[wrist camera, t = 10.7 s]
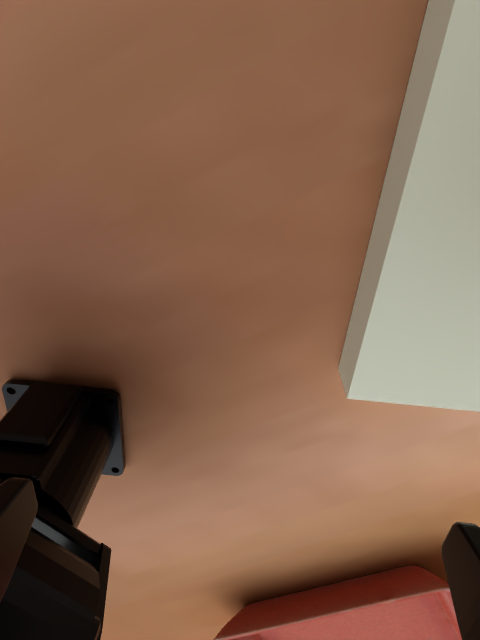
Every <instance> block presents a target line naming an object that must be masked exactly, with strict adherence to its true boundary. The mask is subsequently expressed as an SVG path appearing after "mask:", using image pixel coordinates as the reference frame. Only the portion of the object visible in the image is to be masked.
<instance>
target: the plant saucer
mask: <svg viewBox="0 0 480 640" xmlns="http://www.w3.org/2000/svg"><path fill="white" fill-rule="evenodd" d="M214 640H462V638H461V634H460V630H459V626H458V622H457V618H456V614H455V610H454V605H453V601H452V597H451V593H450V589H449V584H448V583H446V582H445V581H444V580H442V579H441V578H439V577H438V576H436V575H435V574H433V573H431V572H429V571H427V570H425V569H424V568H421V567H419V566H416V565H409V566H404V567H400V568H396V569H392V570H388V571H384V572H380V573H376V574H372V575H368V576H364V577H360V578H355V579H351V580H347V581H343V582H339V583H335V584H330V585H326V586H322V587H318V588H314V589H310V590H306V591H302V592H298V593H294V594H289V595H285V596H281V597H277V598H272V599H268V600H264V601H260V602H256V603H252V604H248V605H247V606H245V607H244V608H243V609H242V610H241V611H240V612H239V613H237V614H236V615H235V616H234V617H233V618H232V619H231V620H230V621H229V622H228V623H227V624H226V625H225V626H224V627H223V628H222V630H221V631H220V632H219V633H218V635H217V636H216V637H215V639H214Z"/></svg>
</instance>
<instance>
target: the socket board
mask: <svg viewBox="0 0 480 640" xmlns="http://www.w3.org/2000/svg"><path fill="white" fill-rule="evenodd" d="M338 370H339V373H340V376H341V380H342V383H343V386H344V390H345V393H346V396H347V399H357V400H367V401H377V402H387V403H397V404H407V405H417V406H427V407H437V408H447V409H457V410H467V411H477V412H480V0H429V1H428V5H427V9H426V13H425V17H424V21H423V25H422V29H421V33H420V38H419V42H418V46H417V50H416V54H415V58H414V62H413V66H412V70H411V74H410V78H409V82H408V86H407V90H406V94H405V99H404V103H403V107H402V111H401V115H400V119H399V123H398V127H397V131H396V135H395V139H394V143H393V147H392V151H391V155H390V160H389V164H388V168H387V172H386V176H385V180H384V184H383V188H382V192H381V196H380V200H379V204H378V208H377V212H376V216H375V221H374V225H373V229H372V233H371V237H370V241H369V245H368V249H367V253H366V257H365V261H364V265H363V269H362V273H361V277H360V282H359V286H358V290H357V294H356V298H355V302H354V306H353V310H352V314H351V318H350V322H349V326H348V330H347V334H346V338H345V343H344V347H343V351H342V355H341V359H340V363H339V367H338Z"/></svg>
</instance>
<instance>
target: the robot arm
mask: <svg viewBox="0 0 480 640" xmlns="http://www.w3.org/2000/svg"><path fill="white" fill-rule="evenodd" d="M12 388H13V389H12ZM14 389H15V390H14ZM2 391H3V395H4V399H5V403H6V407H7V411H8V412H7V413H6V414H5V416H4V417H3V418H2V419H1V420H0V640H100V638H101V633H102V627H103V618H104V609H105V600H106V591H107V583H108V574H109V565H110V556H111V548H109V547H108V546H106V545H105V544H103V543H101V544H100V543H98V542H97V541H95V540H94V539H92V538H91V537H89V536H88V535H86V534H85V533H83V532H82V531H80V530H79V529H77V527H78V525H79V523H80V521H81V518H82V516H83V514H84V512H85V509H86V507H87V505H88V503H89V500H90V498H91V496H92V494H93V491H94V489H95V487H96V485H97V482H98V480H99V478H100V476H101V474H104V475H114V476H119V475H121V474H122V473H123V471H124V469H125V455H124V441H123V427H122V412H121V398H120V394H119V393H118V392H117V391H115V390H112V389H105V388H95V387H85V386H75V385H65V384H55V383H45V382H35V381H25V380H15V379H12V380H8V381H7V382H6V383H5V384H4V385H3V387H2ZM108 397H110V398H112V399H113V400H111V399H109V398H108ZM442 559H443V563H444V567H445V572H446V576H447V580H448V584H449V589H450V593H451V597H452V601H453V605H454V610H455V614H456V618H457V622H458V626H459V630H460V634H461V638H462V640H480V527H478V526H477V525H475V524H472V523H462V522H456V523H454V524H453V525H452V527H451V529H450V531H449V533H448V535H447V537H446V539H445V540H444V542H443V545H442Z"/></svg>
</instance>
